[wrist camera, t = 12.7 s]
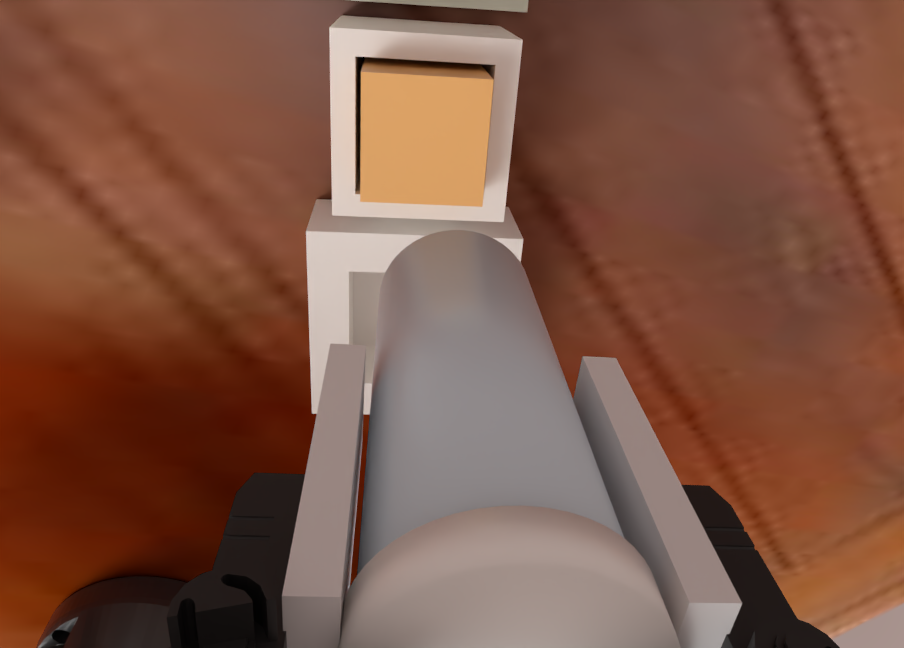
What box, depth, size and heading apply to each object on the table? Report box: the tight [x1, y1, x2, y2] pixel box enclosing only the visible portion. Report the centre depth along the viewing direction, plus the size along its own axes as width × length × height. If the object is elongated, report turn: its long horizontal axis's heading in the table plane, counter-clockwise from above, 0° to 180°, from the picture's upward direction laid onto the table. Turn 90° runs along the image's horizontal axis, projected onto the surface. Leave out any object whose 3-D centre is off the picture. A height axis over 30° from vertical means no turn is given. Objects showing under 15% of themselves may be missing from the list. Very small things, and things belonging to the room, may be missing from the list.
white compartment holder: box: [306, 15, 523, 414], centre depth 35 cm, size 20×10×7 cm, turn 176°
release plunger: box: [360, 57, 494, 207], centre depth 31 cm, size 5×5×8 cm
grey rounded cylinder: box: [338, 230, 681, 648], centre depth 15 cm, size 5×5×12 cm
